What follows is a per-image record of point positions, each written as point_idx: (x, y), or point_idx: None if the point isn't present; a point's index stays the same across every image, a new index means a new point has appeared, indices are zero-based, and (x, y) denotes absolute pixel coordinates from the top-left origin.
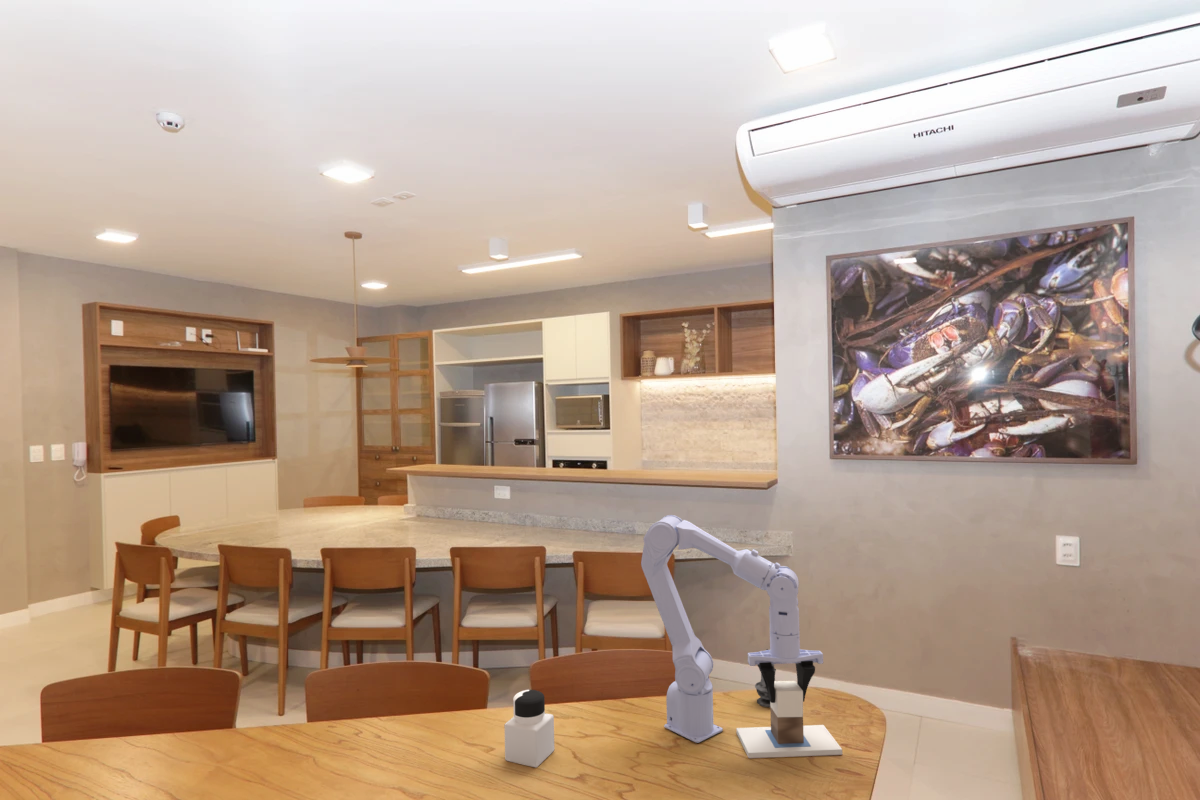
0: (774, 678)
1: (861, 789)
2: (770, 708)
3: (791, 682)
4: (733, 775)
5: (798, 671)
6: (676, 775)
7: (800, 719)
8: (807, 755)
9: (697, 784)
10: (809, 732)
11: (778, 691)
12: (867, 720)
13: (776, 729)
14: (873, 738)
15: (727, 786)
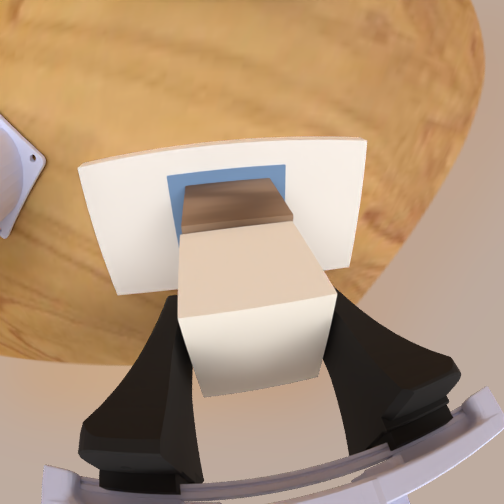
0: (196, 444)
1: None
2: (181, 222)
3: (307, 317)
4: (99, 336)
5: (361, 386)
6: (19, 332)
7: None
8: None
9: (54, 352)
10: (309, 185)
11: (208, 396)
12: (464, 109)
13: None
14: (436, 191)
15: (97, 358)
